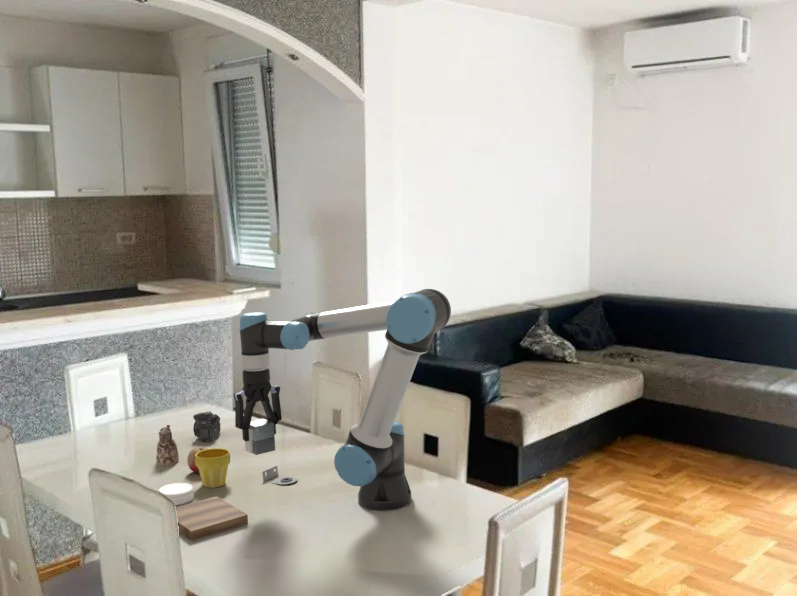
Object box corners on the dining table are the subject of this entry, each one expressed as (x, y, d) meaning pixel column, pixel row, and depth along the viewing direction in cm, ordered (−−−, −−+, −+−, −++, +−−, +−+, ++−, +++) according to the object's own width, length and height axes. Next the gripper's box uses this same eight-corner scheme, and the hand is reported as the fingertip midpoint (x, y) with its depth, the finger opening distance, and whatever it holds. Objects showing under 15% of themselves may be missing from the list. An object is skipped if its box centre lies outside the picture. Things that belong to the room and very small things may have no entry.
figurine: (152, 464, 265) (150, 429, 263) (163, 457, 272) (161, 423, 270) (172, 465, 263) (169, 430, 262) (182, 459, 270) (180, 424, 268)
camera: (193, 434, 298) (191, 408, 297) (220, 431, 301) (219, 405, 300) (194, 444, 286) (193, 417, 284) (223, 441, 288) (221, 414, 287)
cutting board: (247, 523, 215) (247, 514, 214) (191, 540, 205) (191, 531, 204) (217, 504, 229) (216, 496, 228) (163, 519, 219) (162, 510, 218)
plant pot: (217, 475, 253) (215, 445, 251) (238, 482, 246) (237, 451, 245) (189, 485, 245) (187, 454, 243) (211, 492, 238) (209, 460, 237)
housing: (275, 450, 226) (273, 422, 225) (256, 455, 222) (254, 426, 221) (264, 445, 231) (263, 418, 230) (245, 450, 227) (244, 422, 226)
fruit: (205, 477, 252) (204, 452, 251) (183, 474, 254) (182, 450, 253) (219, 468, 259) (217, 444, 258) (197, 466, 262) (196, 442, 261)
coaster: (156, 496, 236) (156, 485, 236) (191, 491, 240) (191, 480, 240) (159, 508, 227) (159, 496, 227) (195, 503, 231) (195, 491, 230)
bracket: (287, 488, 241) (287, 476, 241) (262, 482, 247) (262, 471, 247) (301, 481, 247) (301, 470, 246) (277, 476, 252) (276, 465, 252)
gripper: (278, 361, 233) (282, 439, 235) (218, 371, 221) (223, 453, 224) (292, 364, 227) (296, 444, 230) (231, 375, 215) (236, 459, 218)
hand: (260, 448), depth 227 cm, fingers closed on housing, 6 cm apart
